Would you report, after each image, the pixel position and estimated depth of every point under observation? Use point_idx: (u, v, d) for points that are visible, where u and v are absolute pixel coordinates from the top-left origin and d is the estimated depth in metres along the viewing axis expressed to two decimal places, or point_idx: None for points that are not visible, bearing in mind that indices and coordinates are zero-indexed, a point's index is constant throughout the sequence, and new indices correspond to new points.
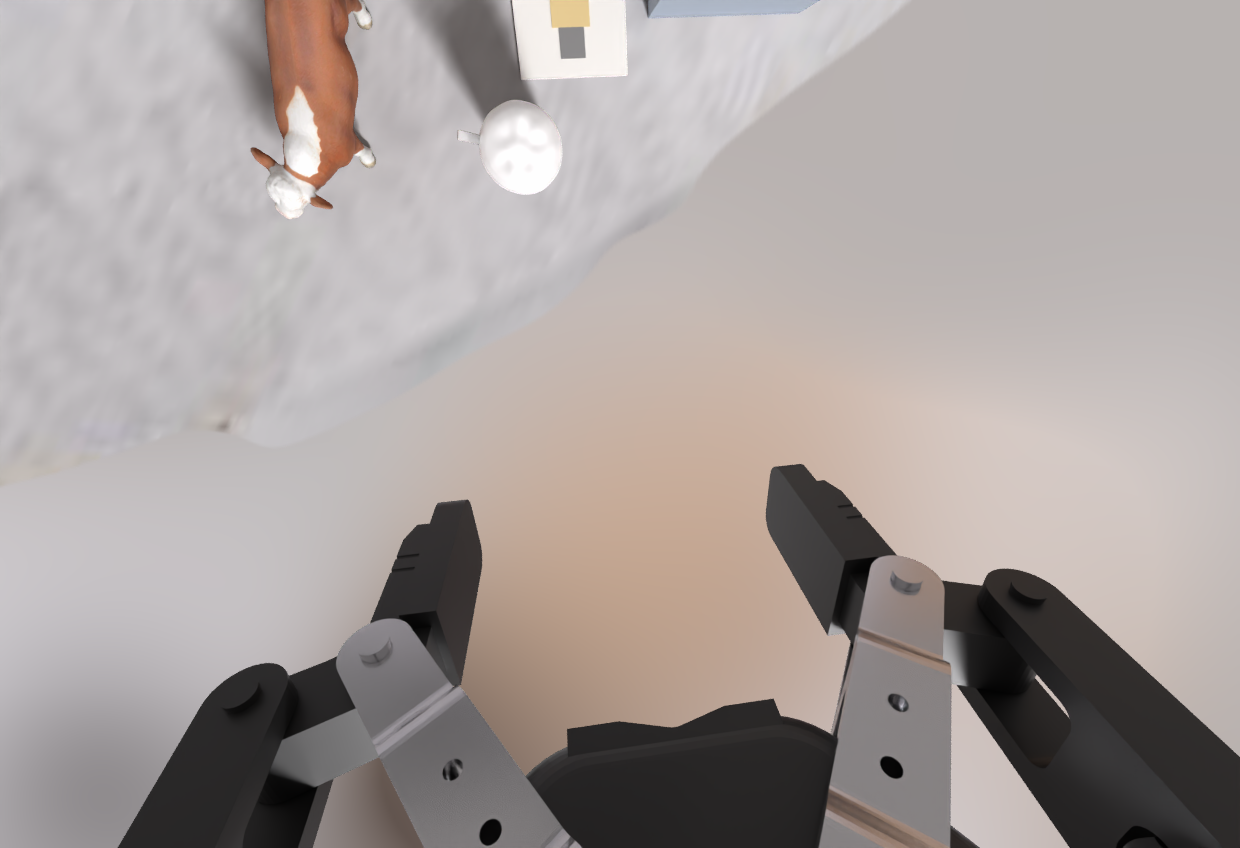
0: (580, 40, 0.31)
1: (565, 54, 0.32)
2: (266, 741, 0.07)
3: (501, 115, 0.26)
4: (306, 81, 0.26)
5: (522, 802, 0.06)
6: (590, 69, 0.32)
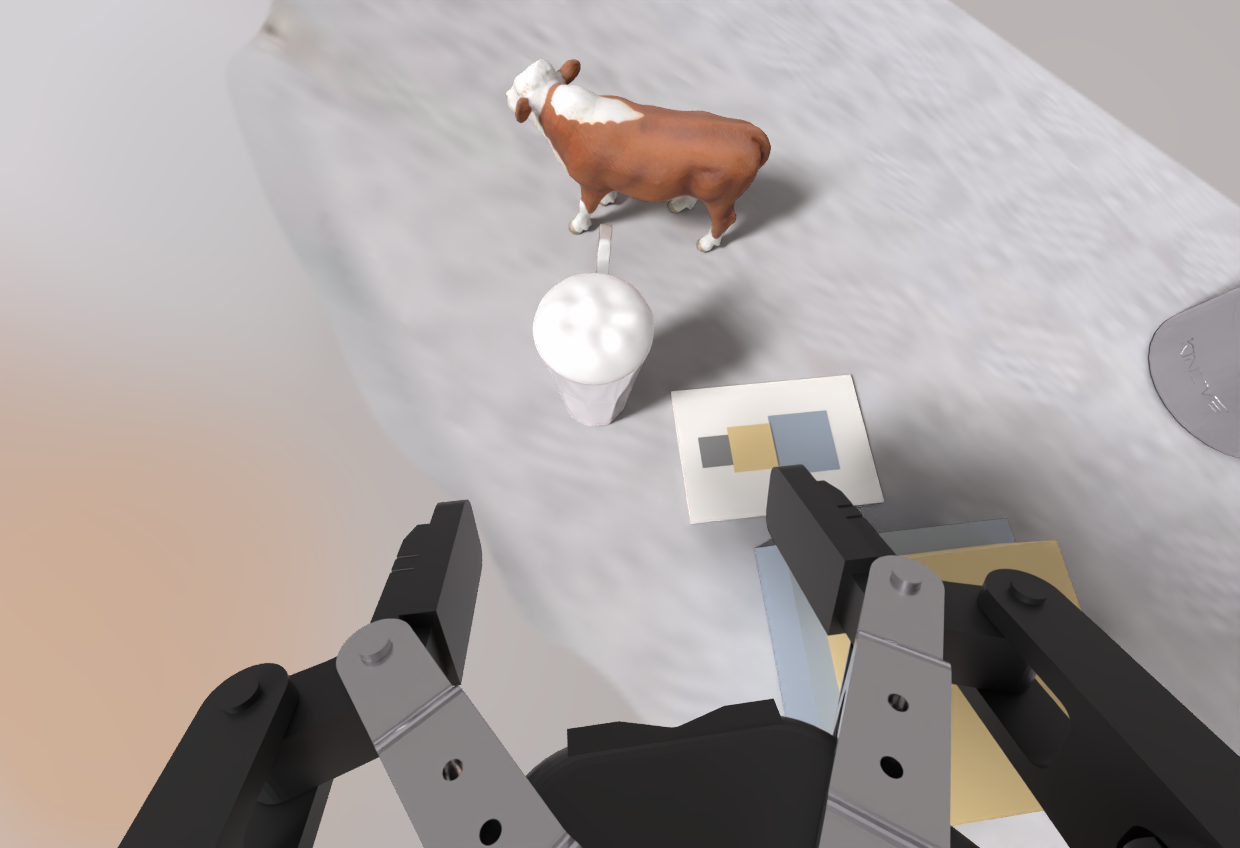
0: (719, 461, 0.25)
1: (703, 443, 0.25)
2: (266, 741, 0.07)
3: (634, 296, 0.18)
4: (648, 125, 0.23)
5: (522, 803, 0.06)
6: (691, 474, 0.25)
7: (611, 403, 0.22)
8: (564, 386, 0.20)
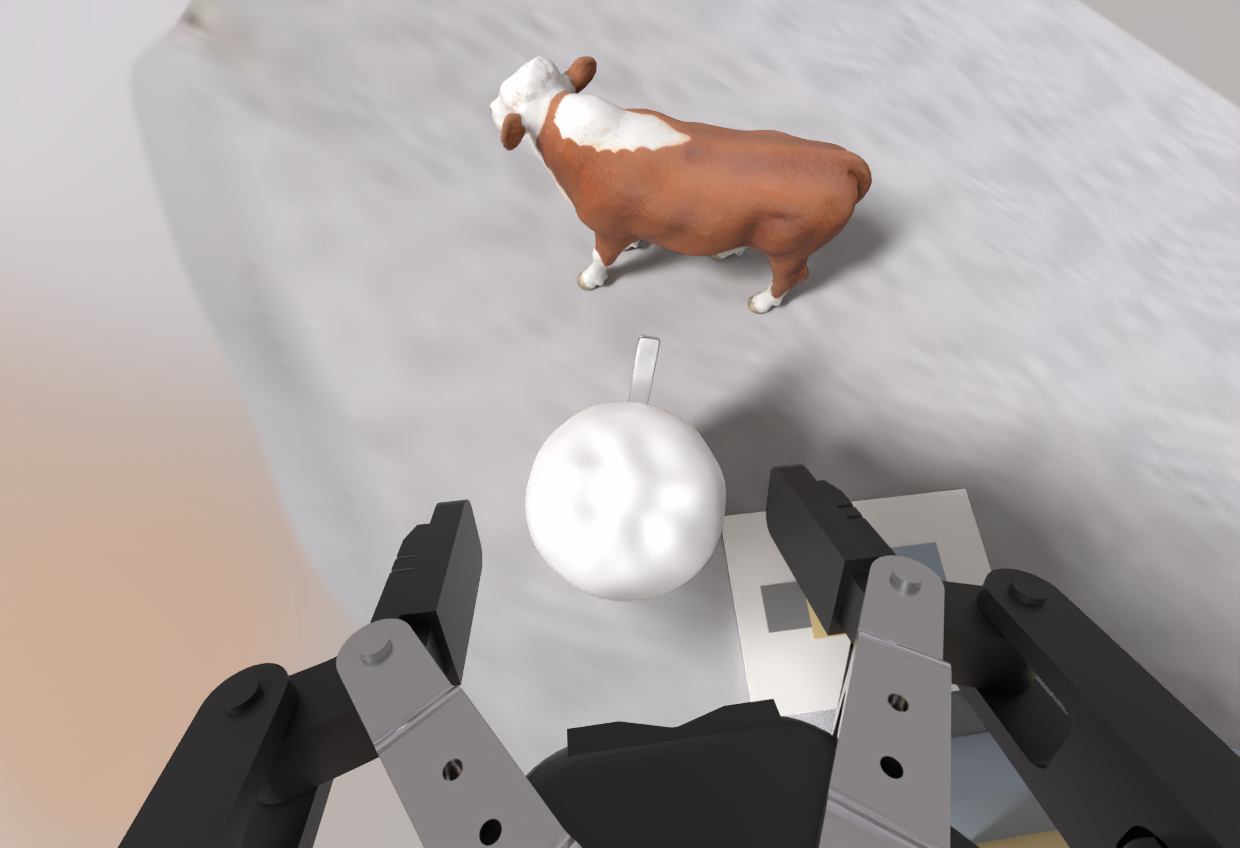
0: (792, 622, 0.18)
1: (767, 594, 0.18)
2: (266, 741, 0.07)
3: (694, 450, 0.11)
4: (697, 153, 0.16)
5: (522, 802, 0.06)
6: (753, 642, 0.18)
7: None
8: None
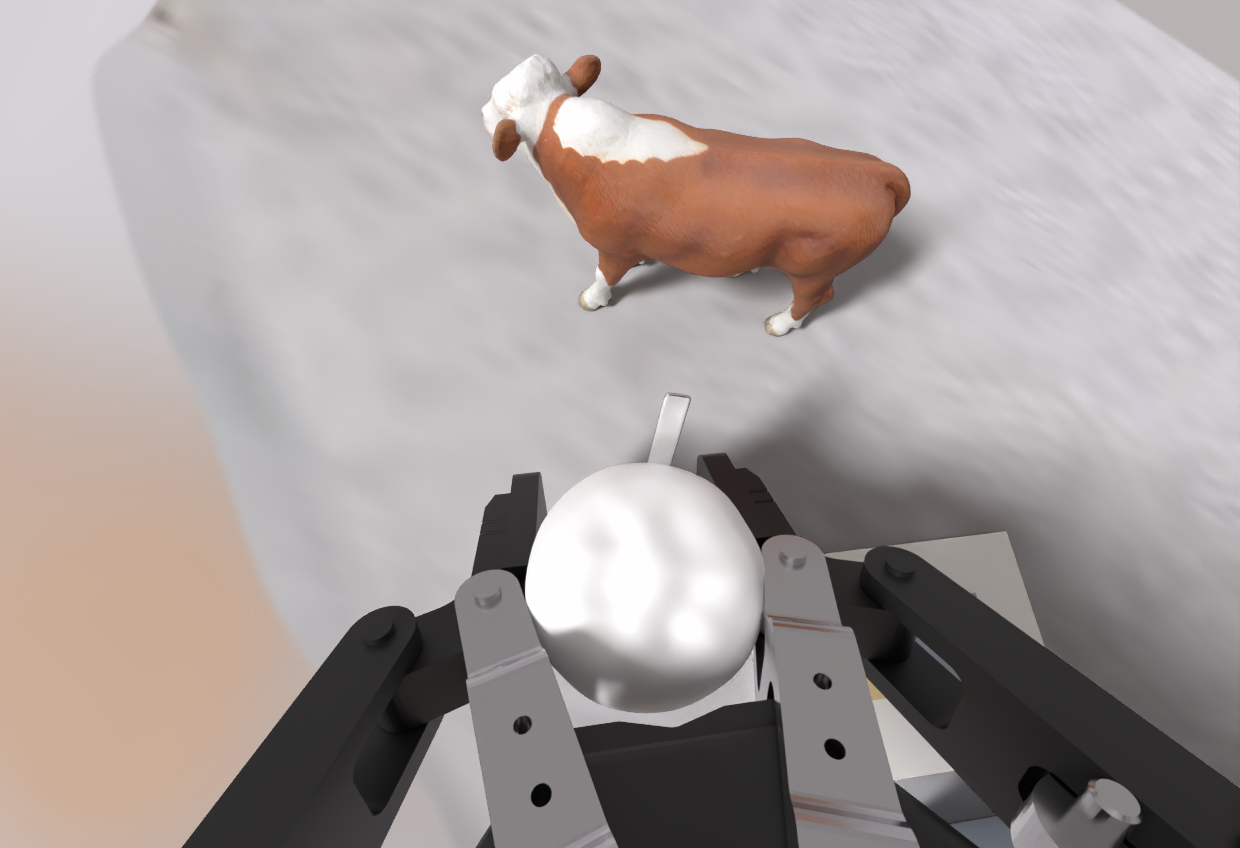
0: None
1: None
2: (387, 680, 0.08)
3: (728, 526, 0.09)
4: (716, 164, 0.14)
5: (574, 779, 0.06)
6: None
7: None
8: None
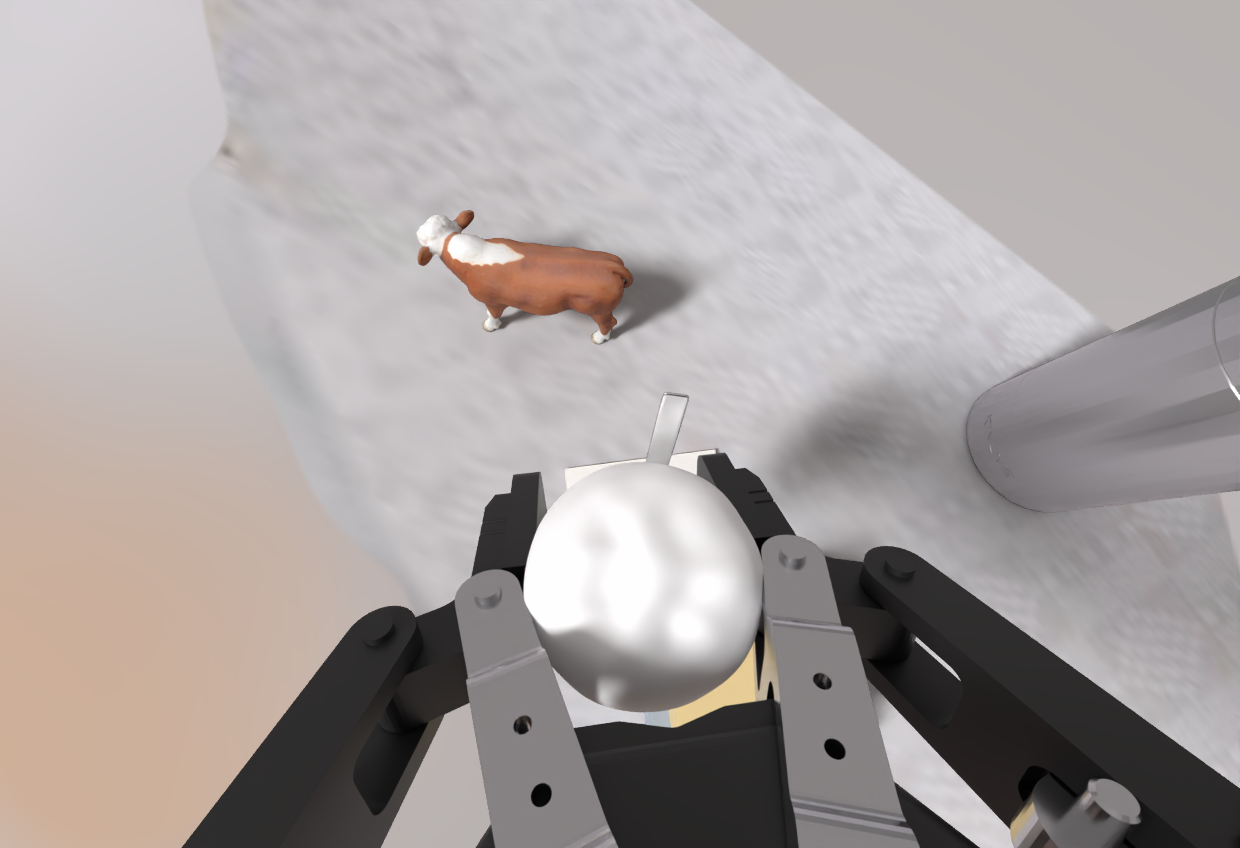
0: None
1: None
2: (388, 680, 0.08)
3: (726, 525, 0.09)
4: (528, 264, 0.28)
5: (574, 779, 0.06)
6: None
7: None
8: None
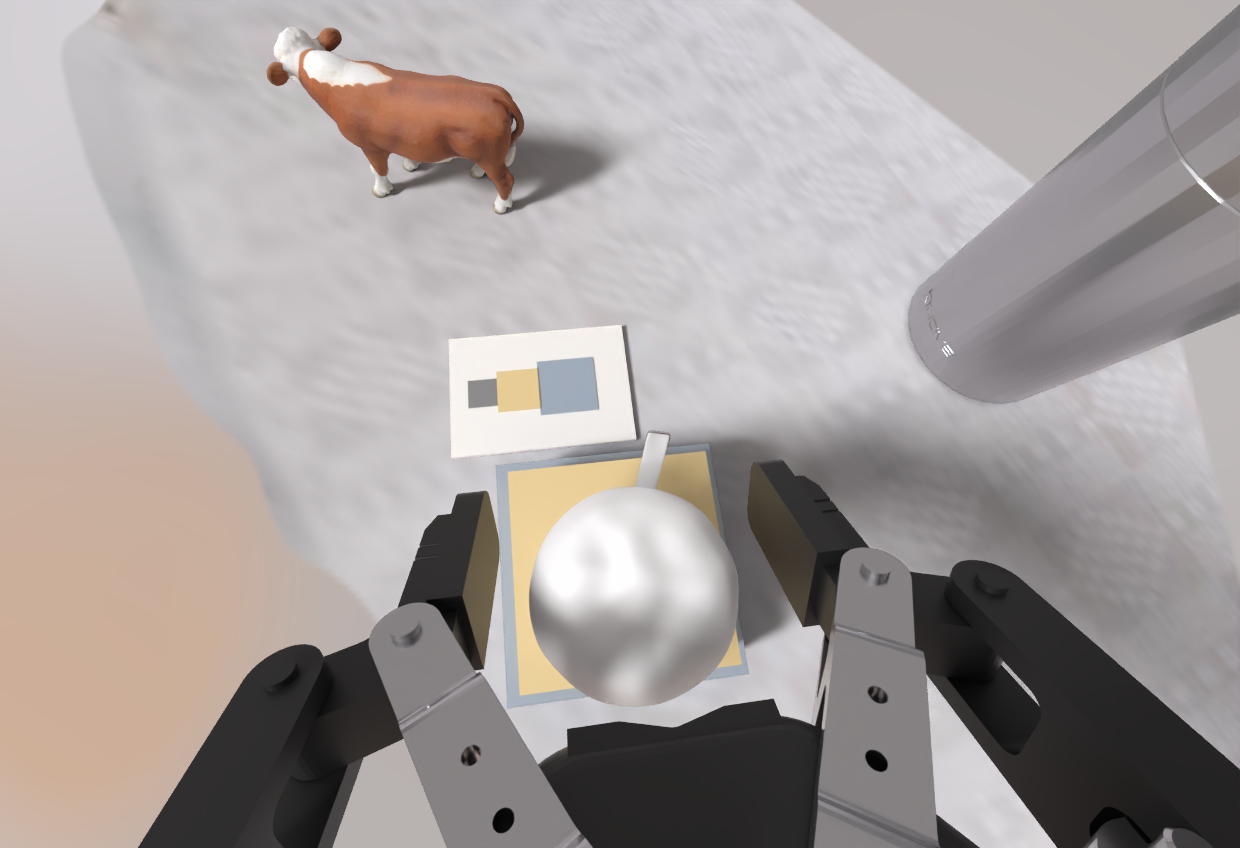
0: (484, 402, 0.27)
1: (472, 386, 0.27)
2: (300, 721, 0.07)
3: (705, 543, 0.10)
4: (396, 88, 0.25)
5: (535, 794, 0.06)
6: (457, 414, 0.27)
7: None
8: None
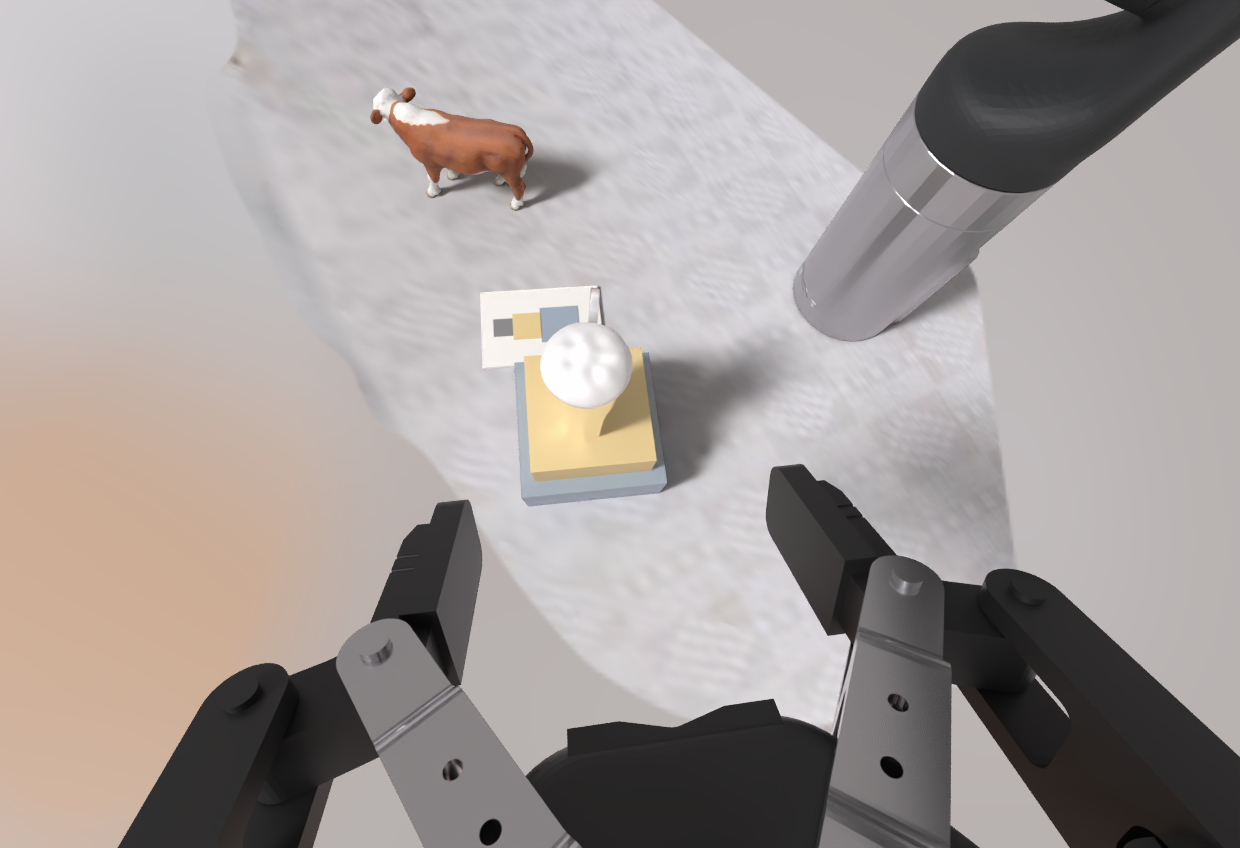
0: (504, 333, 0.41)
1: (496, 323, 0.41)
2: (266, 741, 0.07)
3: (616, 341, 0.24)
4: (452, 126, 0.39)
5: (522, 802, 0.06)
6: (486, 340, 0.40)
7: (600, 420, 0.27)
8: (563, 408, 0.25)
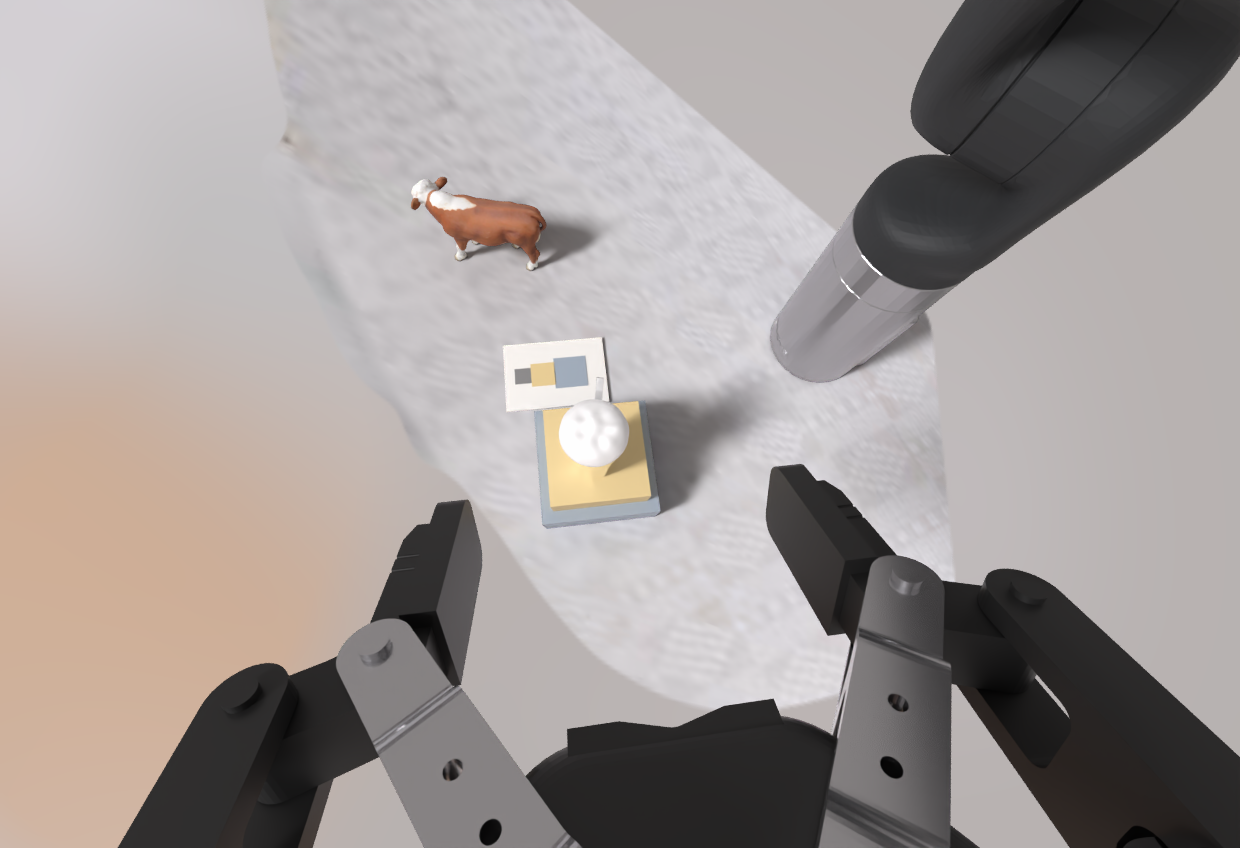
0: (524, 381, 0.48)
1: (517, 372, 0.49)
2: (266, 742, 0.07)
3: (617, 415, 0.32)
4: (478, 210, 0.46)
5: (521, 802, 0.06)
6: (509, 387, 0.48)
7: (605, 469, 0.35)
8: (577, 464, 0.33)
